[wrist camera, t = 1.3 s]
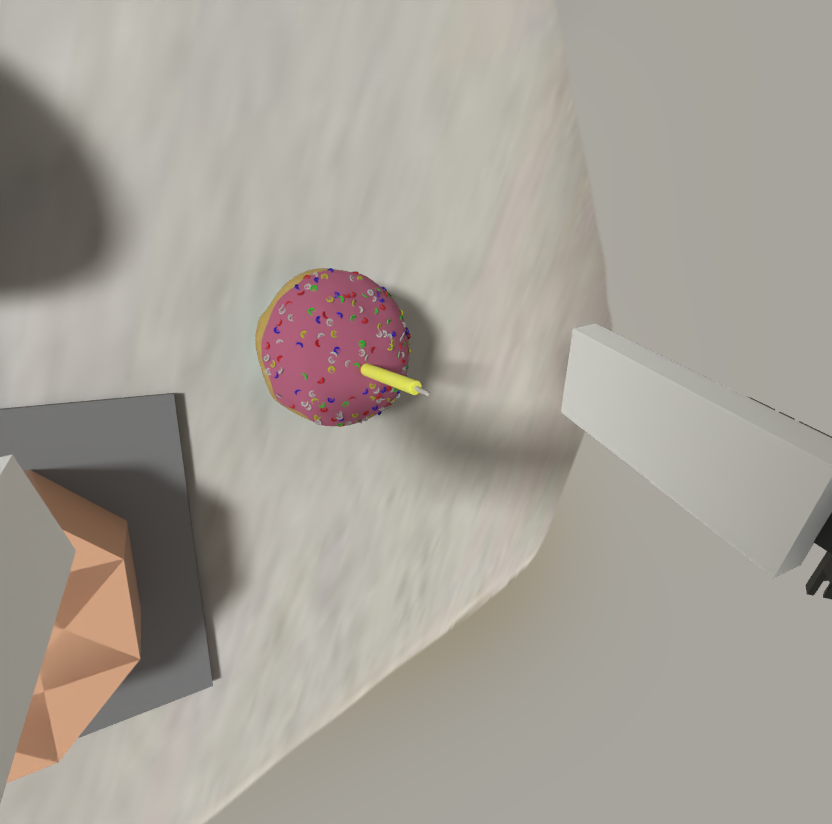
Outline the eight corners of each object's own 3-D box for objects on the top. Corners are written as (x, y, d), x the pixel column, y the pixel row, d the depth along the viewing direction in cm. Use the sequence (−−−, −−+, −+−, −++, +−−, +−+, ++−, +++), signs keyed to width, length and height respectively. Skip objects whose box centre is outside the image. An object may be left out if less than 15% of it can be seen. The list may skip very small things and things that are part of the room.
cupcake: (395, 364, 32) (514, 376, 22) (298, 442, 29) (382, 498, 19) (326, 251, 28) (429, 202, 18) (208, 328, 26) (251, 321, 15)
